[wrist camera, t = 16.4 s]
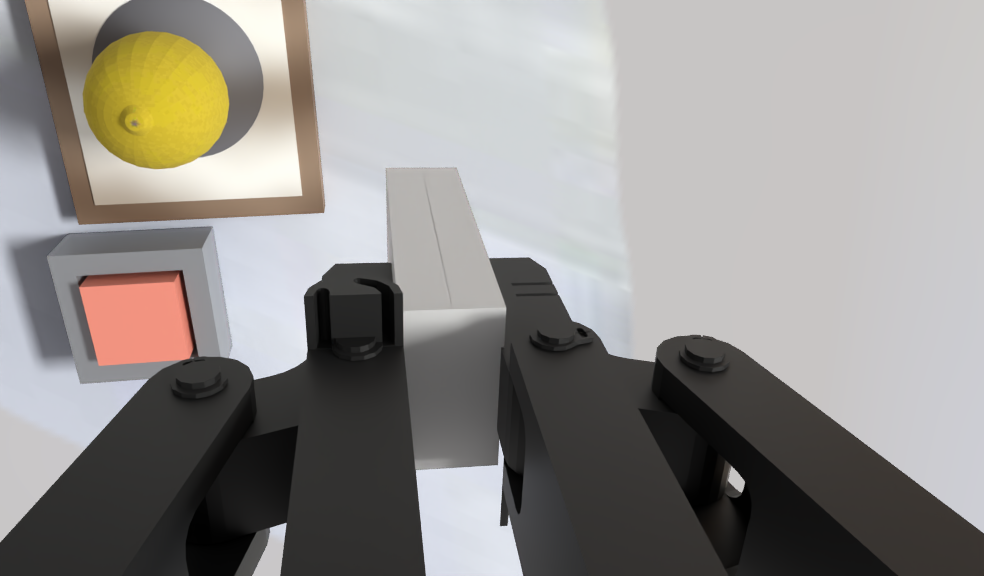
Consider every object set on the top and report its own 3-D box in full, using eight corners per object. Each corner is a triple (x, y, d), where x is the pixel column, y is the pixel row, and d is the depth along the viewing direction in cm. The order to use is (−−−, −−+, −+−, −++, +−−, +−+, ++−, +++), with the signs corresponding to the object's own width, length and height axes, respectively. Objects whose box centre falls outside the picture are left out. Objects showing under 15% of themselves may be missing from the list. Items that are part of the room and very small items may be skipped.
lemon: (119, 134, 37) (60, 186, 30) (113, 12, 35) (48, 37, 28) (240, 146, 38) (211, 199, 31) (241, 29, 36) (210, 57, 29)
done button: (95, 266, 40) (79, 287, 38) (184, 261, 40) (174, 281, 38) (113, 341, 42) (98, 365, 40) (198, 336, 42) (189, 359, 40)
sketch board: (14, -88, 34) (1, -88, 33) (296, -87, 36) (294, -87, 34) (86, 216, 40) (77, 225, 39) (325, 205, 42) (323, 213, 40)
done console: (67, 234, 40) (46, 256, 38) (212, 226, 41) (201, 248, 38) (98, 354, 43) (80, 383, 41) (232, 345, 44) (223, 373, 42)
